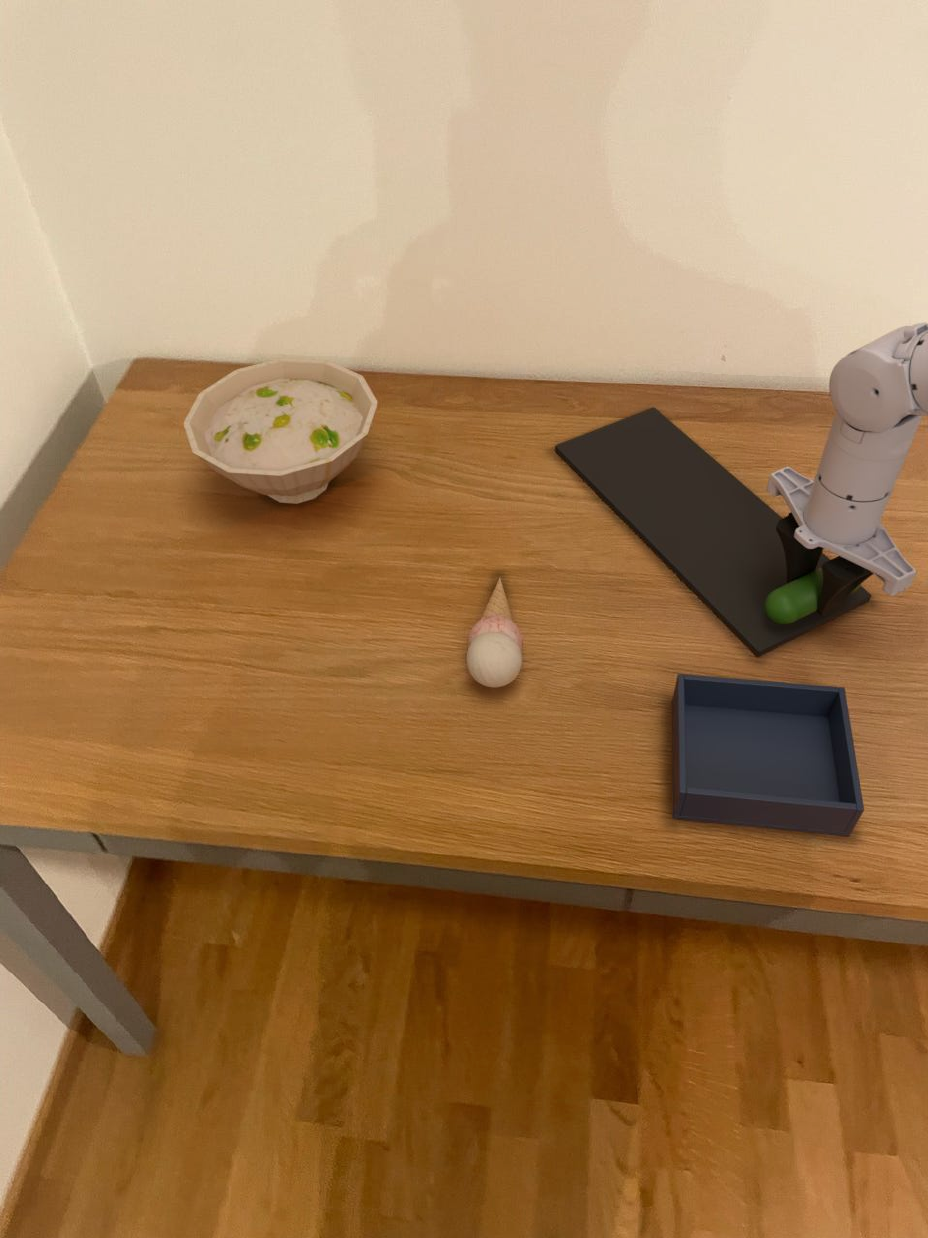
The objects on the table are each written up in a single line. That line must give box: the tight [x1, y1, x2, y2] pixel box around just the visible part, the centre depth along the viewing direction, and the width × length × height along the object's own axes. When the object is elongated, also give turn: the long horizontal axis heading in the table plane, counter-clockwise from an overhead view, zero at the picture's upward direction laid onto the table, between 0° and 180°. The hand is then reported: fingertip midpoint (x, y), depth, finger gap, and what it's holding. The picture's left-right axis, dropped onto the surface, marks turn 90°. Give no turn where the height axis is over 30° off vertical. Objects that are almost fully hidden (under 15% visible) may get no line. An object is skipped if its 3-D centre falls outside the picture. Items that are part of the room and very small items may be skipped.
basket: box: [671, 673, 865, 837], centre depth 72 cm, size 13×11×4 cm
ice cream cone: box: [465, 577, 524, 688], centre depth 82 cm, size 5×5×15 cm
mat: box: [554, 406, 872, 658], centre depth 92 cm, size 33×13×1 cm, turn 29°
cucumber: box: [765, 568, 863, 624], centre depth 81 cm, size 10×3×3 cm, turn 119°
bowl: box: [182, 357, 379, 505], centre depth 95 cm, size 19×19×10 cm
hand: (812, 596), depth 82 cm, fingers closed on cucumber, 3 cm apart
